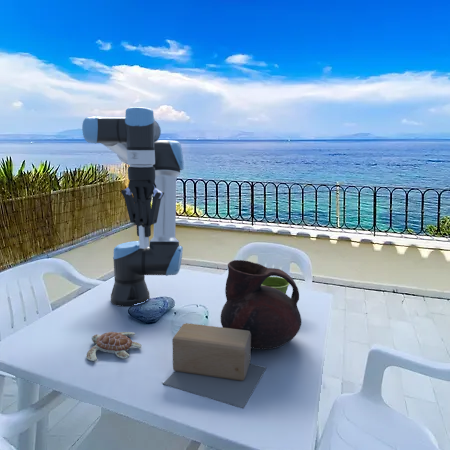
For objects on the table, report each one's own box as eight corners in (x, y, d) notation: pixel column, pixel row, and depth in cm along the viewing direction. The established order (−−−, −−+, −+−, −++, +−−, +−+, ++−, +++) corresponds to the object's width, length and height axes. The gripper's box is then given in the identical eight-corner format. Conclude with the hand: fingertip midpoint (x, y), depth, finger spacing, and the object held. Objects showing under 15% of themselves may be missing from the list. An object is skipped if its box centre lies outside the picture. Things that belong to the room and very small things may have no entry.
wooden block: (171, 372, 100) (244, 383, 95) (171, 337, 98) (245, 347, 93) (183, 353, 109) (250, 362, 105) (183, 321, 107) (251, 329, 103)
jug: (295, 369, 102) (299, 283, 97) (209, 354, 109) (209, 273, 105) (303, 329, 126) (307, 258, 121) (232, 318, 133) (233, 251, 128)
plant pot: (260, 301, 148) (261, 275, 146) (290, 305, 145) (291, 278, 143) (254, 313, 137) (255, 285, 135) (286, 318, 134) (287, 288, 132)
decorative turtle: (112, 330, 124) (112, 317, 123) (153, 342, 117) (153, 327, 116) (69, 357, 107) (68, 341, 106) (113, 372, 100) (112, 355, 100)
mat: (195, 350, 111) (195, 350, 111) (266, 368, 102) (266, 367, 102) (162, 384, 95) (162, 383, 95) (243, 408, 86) (243, 407, 86)
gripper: (113, 165, 102) (117, 247, 107) (154, 167, 97) (156, 253, 102) (129, 164, 109) (133, 241, 114) (168, 165, 104) (170, 246, 109)
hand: (144, 247), depth 108 cm, fingers closed
